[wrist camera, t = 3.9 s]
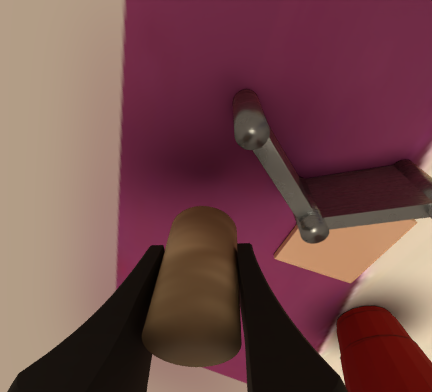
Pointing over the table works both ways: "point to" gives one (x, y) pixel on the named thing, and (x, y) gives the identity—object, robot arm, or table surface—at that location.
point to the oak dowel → (196, 292)
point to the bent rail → (332, 182)
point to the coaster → (343, 249)
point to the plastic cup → (380, 353)
